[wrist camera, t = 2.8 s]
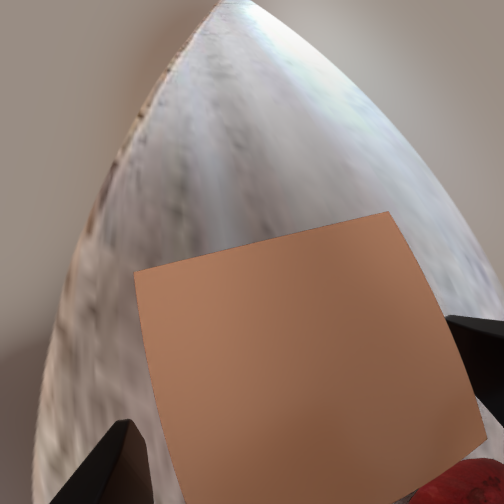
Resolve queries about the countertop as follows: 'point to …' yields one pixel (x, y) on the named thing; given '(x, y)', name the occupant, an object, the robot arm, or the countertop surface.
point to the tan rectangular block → (306, 369)
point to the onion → (465, 484)
